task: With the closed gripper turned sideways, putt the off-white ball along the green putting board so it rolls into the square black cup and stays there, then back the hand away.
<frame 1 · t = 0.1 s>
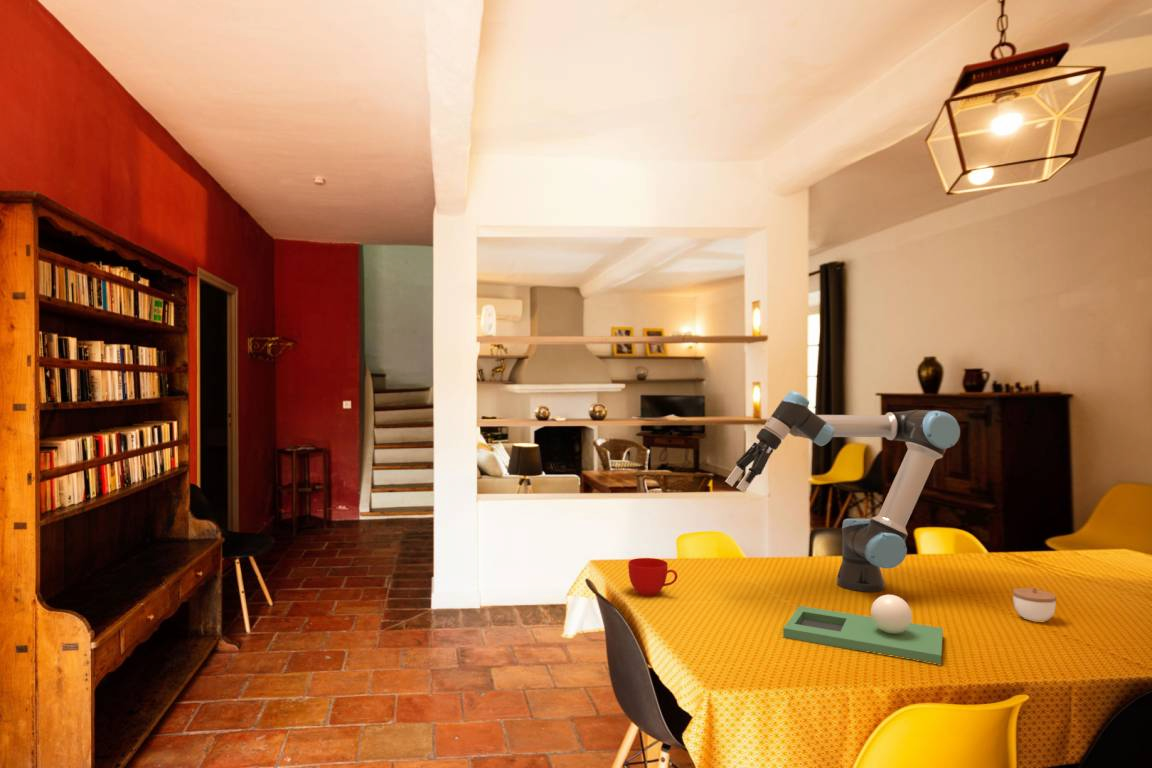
hand: (734, 487, 221), 36 cm above the table, fingers open, 13 cm apart
ball: (891, 614, 183), point 7 cm above the table, touching putting board
lidded jar: (1034, 620, 202), on the table
ceramic cup: (653, 594, 225), on the table
putting board: (863, 637, 187), on the table
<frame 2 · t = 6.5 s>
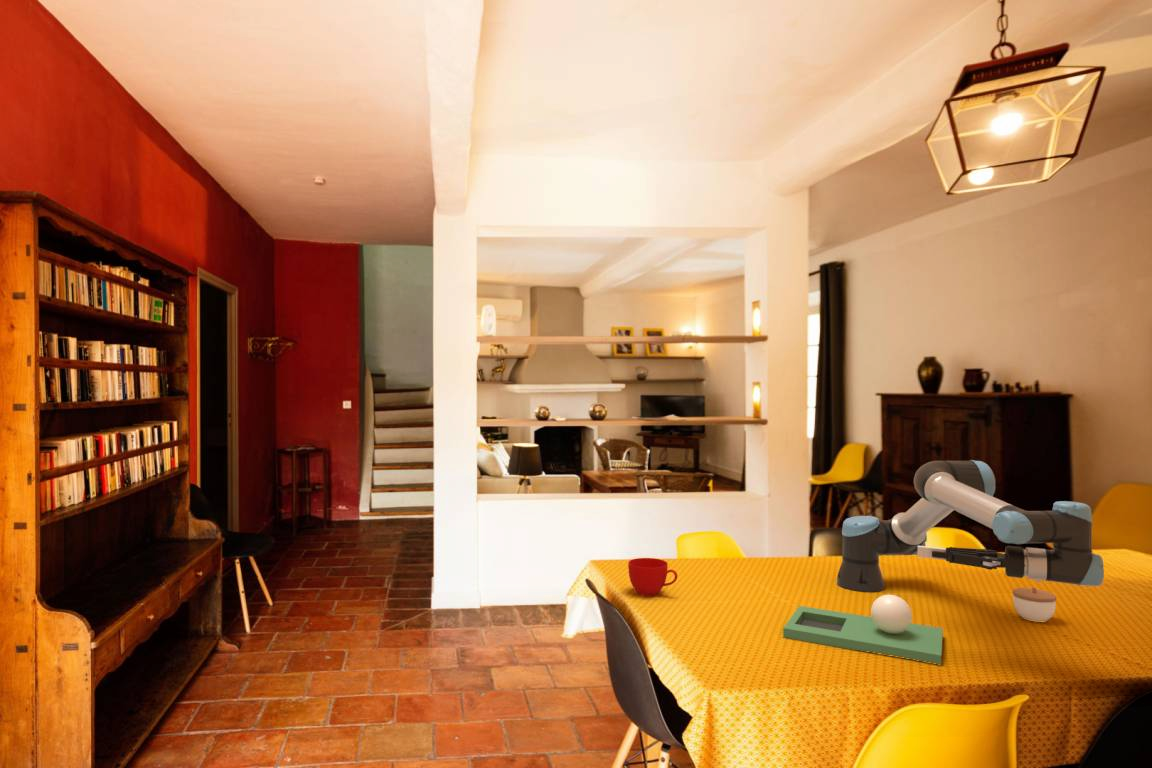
hand: (917, 551, 180), 25 cm above the table, fingers closed
nothing on the table moved.
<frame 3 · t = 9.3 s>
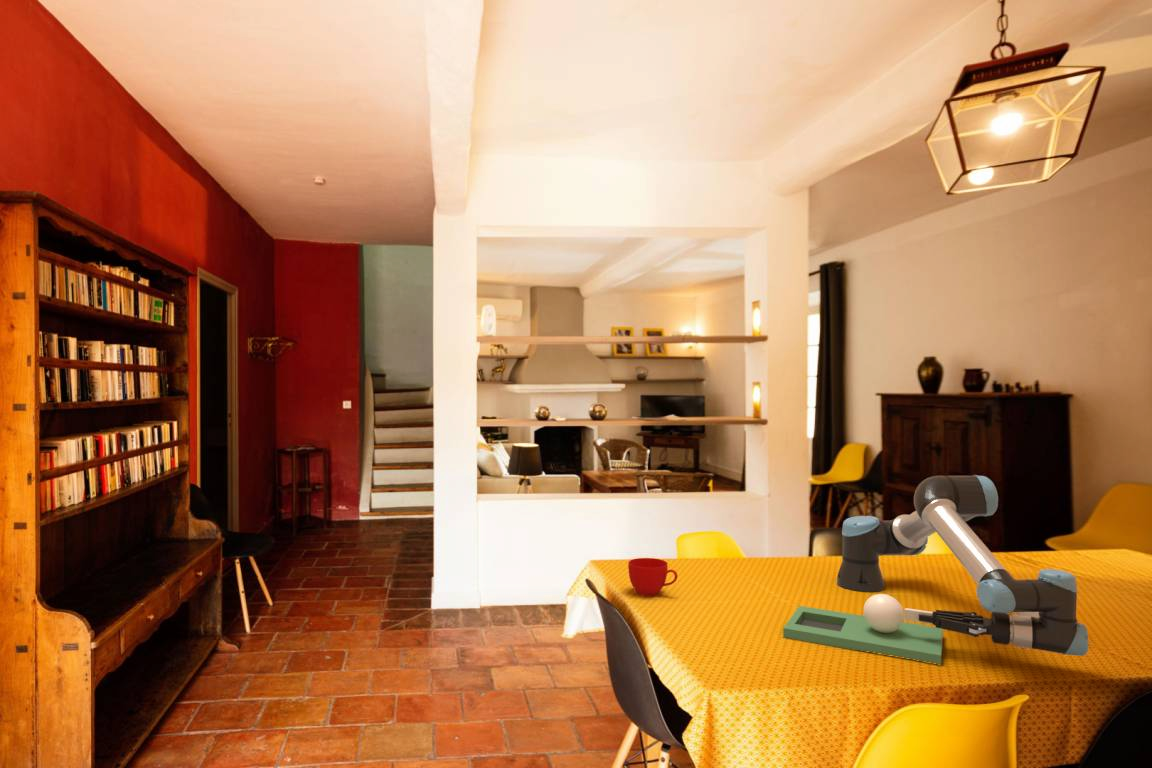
hand: (904, 613, 181), 8 cm above the table, fingers closed
ball: (883, 613, 184), point 7 cm above the table, tilted 22°, touching putting board
everything else where it was.
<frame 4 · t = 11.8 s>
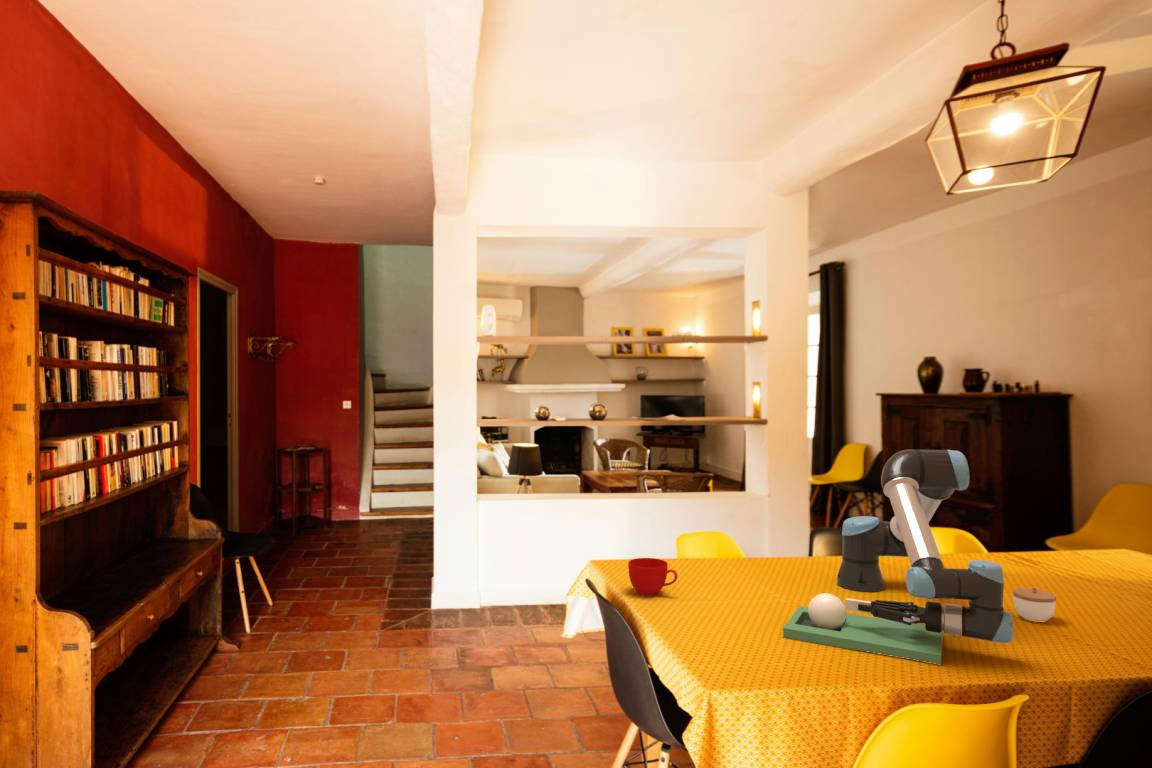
hand: (845, 603, 189), 8 cm above the table, fingers closed
ball: (827, 611, 191), point 5 cm above the table, tilted 145°, touching gripper, putting board
everything else where it was.
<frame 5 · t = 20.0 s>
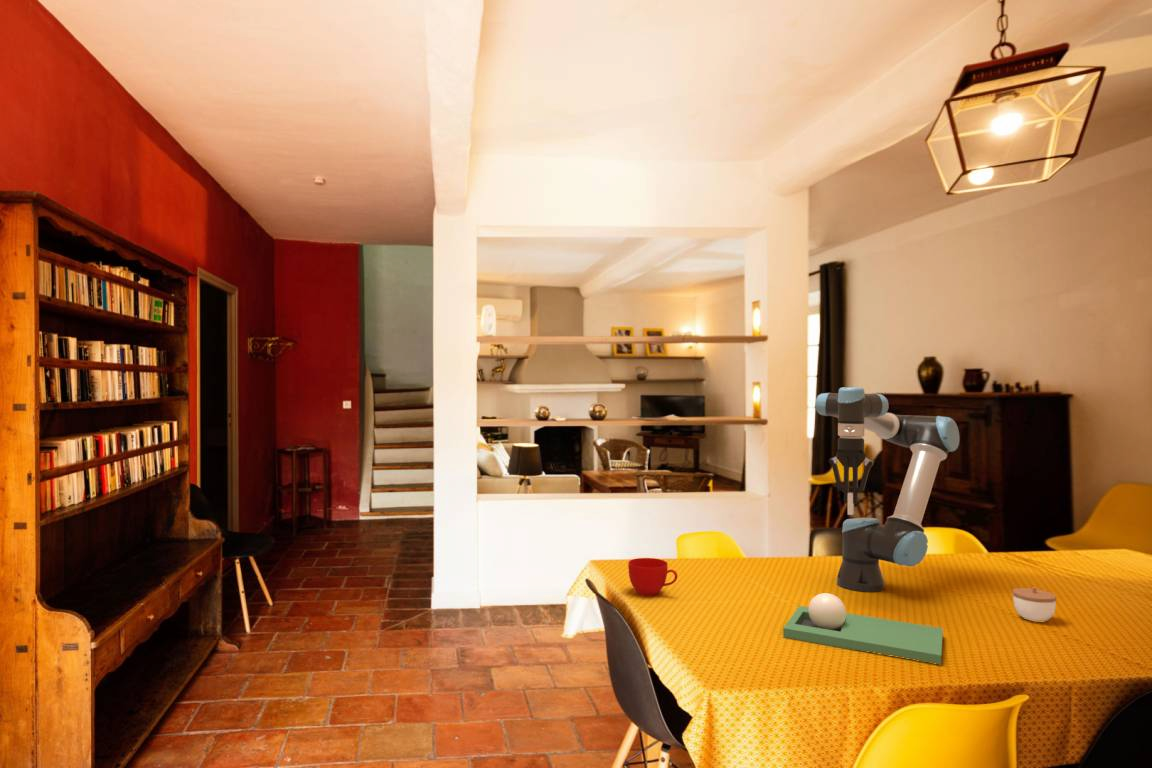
hand: (850, 513, 210), 29 cm above the table, fingers closed
ball: (827, 611, 192), point 5 cm above the table, tilted 144°, touching putting board
everything else where it was.
at the end: ball 1.6 cm from the target spot on the putting board, point 5.3 cm above the putting board's base; ball point 5.3 cm above the table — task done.
